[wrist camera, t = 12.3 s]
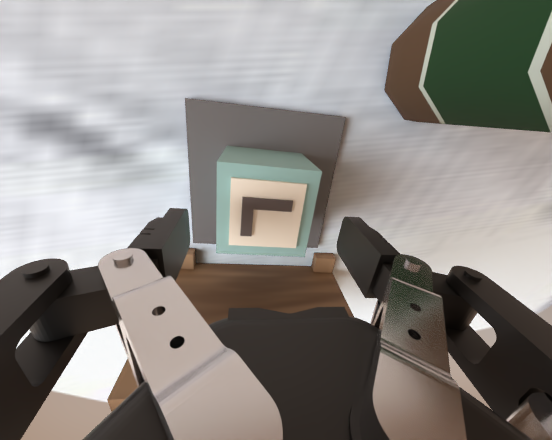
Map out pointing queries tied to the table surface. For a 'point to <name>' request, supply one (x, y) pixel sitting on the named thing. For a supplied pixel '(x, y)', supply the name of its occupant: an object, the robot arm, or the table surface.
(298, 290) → the wooden footed board
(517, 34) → the beer bottle
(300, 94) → the table surface
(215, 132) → the mat
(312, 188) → the letter cube
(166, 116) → the table surface
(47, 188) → the table surface
